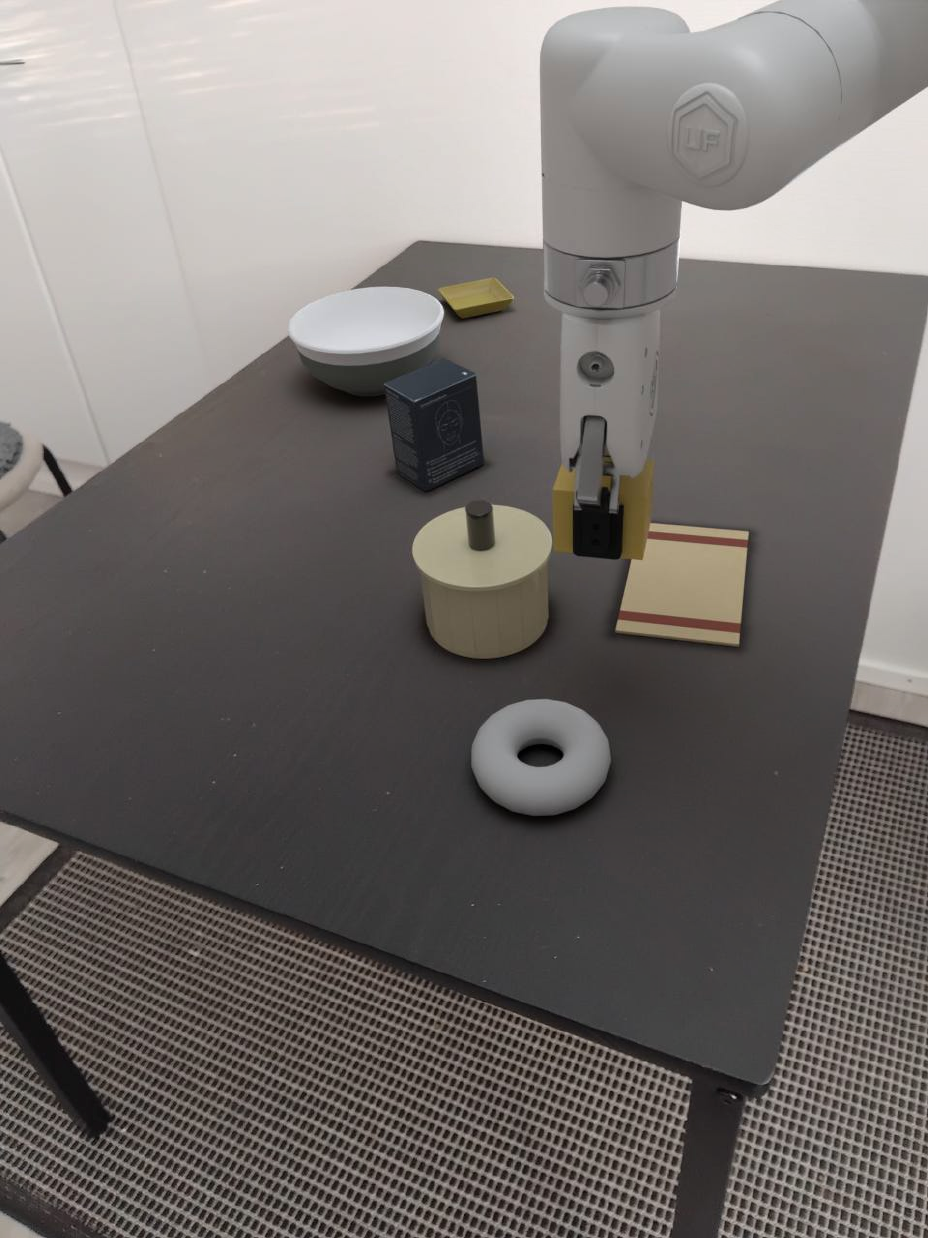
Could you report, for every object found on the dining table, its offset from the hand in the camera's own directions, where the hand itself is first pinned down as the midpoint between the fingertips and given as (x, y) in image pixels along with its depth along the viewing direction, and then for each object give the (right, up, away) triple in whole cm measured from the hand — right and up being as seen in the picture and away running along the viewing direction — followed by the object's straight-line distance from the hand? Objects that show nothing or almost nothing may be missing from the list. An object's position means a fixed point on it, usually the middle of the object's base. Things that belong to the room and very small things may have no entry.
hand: (603, 530), depth 67 cm
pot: (-7, -6, +18) cm, 20 cm away
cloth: (+10, -3, +20) cm, 22 cm away
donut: (-4, -17, +4) cm, 18 cm away
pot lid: (-8, 0, +13) cm, 15 cm away
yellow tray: (-8, +37, +69) cm, 79 cm away
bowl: (-21, +23, +55) cm, 63 cm away
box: (-12, +10, +37) cm, 40 cm away
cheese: (0, 0, 0) cm, 1 cm away
